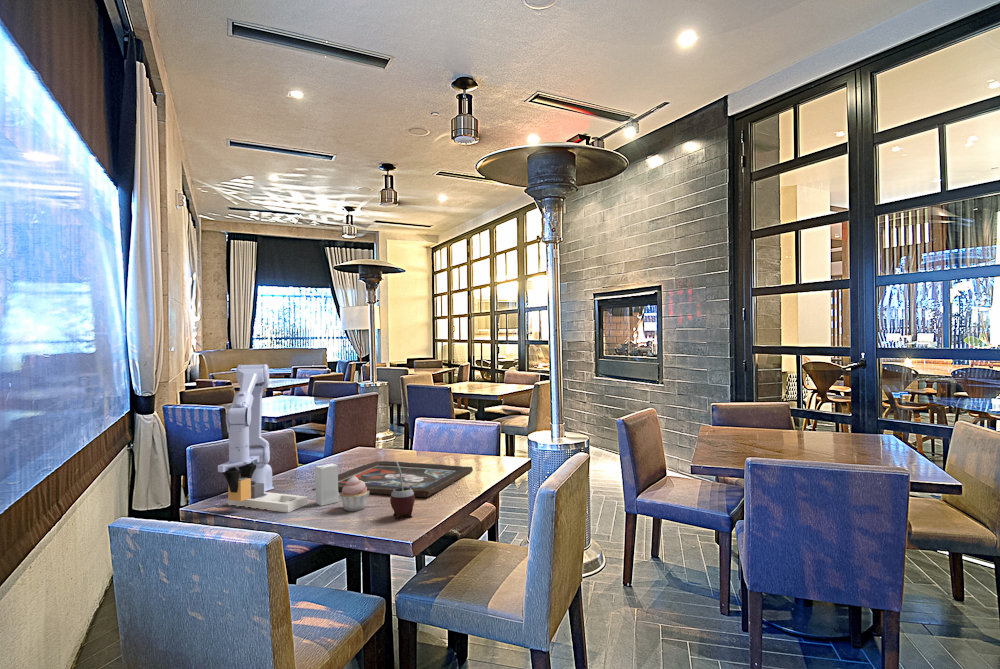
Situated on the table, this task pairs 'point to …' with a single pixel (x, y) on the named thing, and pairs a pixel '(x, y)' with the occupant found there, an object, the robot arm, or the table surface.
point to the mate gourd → (402, 500)
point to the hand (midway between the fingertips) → (239, 490)
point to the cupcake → (354, 495)
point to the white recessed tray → (273, 502)
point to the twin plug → (256, 489)
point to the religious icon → (404, 477)
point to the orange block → (241, 490)
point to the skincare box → (326, 484)
